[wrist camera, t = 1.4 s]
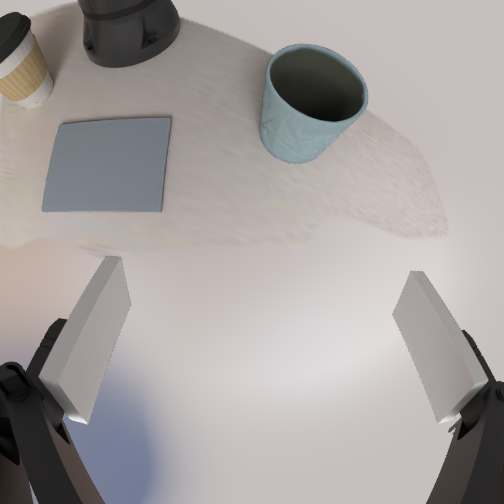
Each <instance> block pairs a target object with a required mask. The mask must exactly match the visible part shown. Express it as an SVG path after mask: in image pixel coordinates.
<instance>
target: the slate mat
mask: <svg viewBox="0 0 504 504" xmlns="http://www.w3.org/2000/svg"><path fill="white" fill-rule="evenodd" d="M171 122H172V119H171V118H134V119H115V120H101V121H89V122H79V123H70V124H61V125H59V128H58V132H57V135H56V139H55V143H54V147H53V152H52V156H51V160H50V165H49V170H48V175H47V180H46V186H45V192H44V198H43V204H42V211H43V212H69V211H116V212H161V211H162V199H163V188H164V178H165V169H166V160H167V152H168V144H169V136H170V129H171Z"/></svg>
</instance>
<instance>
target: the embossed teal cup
mask: <svg viewBox="0 0 504 504" xmlns="http://www.w3.org/2000/svg"><path fill="white" fill-rule="evenodd" d="M367 104H368V90H367V86H366V83H365V81H364V79H363V77H362V75H361V74H360V73H359V71H358V70H357V69H356V67H355V66H354V65H352V64H351V63H350V62H349V61H347V60H346V59H345V58H344V57H342V56H341V55H339V54H338V53H336V52H334V51H332V50H330V49H328V48H325V47H321V46H317V45H311V44H295V45H291V46H287V47H285V48H283V49H281V50H279V51H278V52H277V53H276V54H274V55H273V56H272V58H271V59H270V61H269V62H268V65H267V69H266V78H265V89H264V96H263V104H262V111H261V121H260V137H261V140H262V142H263V145H264V146H265V148H266V149H267V150H268V151H269V152H270V153H271V154H272V155H273V156H274V157H275V158H278V159H280V160H282V161H284V162H287V163H294V164H296V163H298V164H299V163H305V162H309V161H311V160H313V159H315V158H316V157H317V156H318V155H319V154H321V152H322V151H324V150H325V148H326V147H327V146H328V145H329V144H330V143H332V141H333V140H335V139H336V138H337V137H338V136H339V135H340V133H342V132H343V131H344V130H346V129H347V128H348V127H349V126H350V125H351V124H352V123H353V122H354V121H355V120H357V119H358V118H359V117H360V116H361V115H362V114H363V113H364V111H365V109H366V107H367Z"/></svg>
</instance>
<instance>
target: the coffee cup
mask: <svg viewBox="0 0 504 504" xmlns="http://www.w3.org/2000/svg"><path fill="white" fill-rule="evenodd" d="M30 26H31V21H30V19H29V18H28V17H27V16H25V15H21V14H20V13H18V12H12V13H9V14H6V15H4V16H2V17H1V18H0V92H1V93H2V94H3V95H5V96H6V97H7V98H9V99H10V100H12V101H15V102H16V103H17V104H19V105H20V106H21V107H23V108H24V109H27V110H30V109H34V108H36V107H38V106H40V105H41V104H42V103H43V102H44V101H45V100H46V99H47V98H48V97H49V95H50V94H51V92H52V89H53V80H52V78H51V76H50V74H49V71H48V69H47V65H46V63H45V60H44V58H43V56H42V53H41V51H40V48H39V46H38V44H37V41H36V39H35V36H34V35H33V34H32V32H31V29H30Z"/></svg>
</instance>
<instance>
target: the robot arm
mask: <svg viewBox="0 0 504 504" xmlns="http://www.w3.org/2000/svg"><path fill="white" fill-rule="evenodd" d="M78 2H79V4H80V7H81V9H82V12H83V14H84V29H83V44H84V48H85V50H86V53H87V55H88V57H89V58H90V60H91V61H92V62H94V63H95V64H97V65H100V66H103V67H110V68H117V67H126V66H131V65H135V64H138V63H141V62H144V61H146V60H148V59H150V58H152V57H154V56H156V55H158V54H159V53H161V52H162V51H164V50H165V49H166V48H167V47H168V46H169V45H170V44H171V43H172V42H173V41H174V40H175V38H176V36H177V34H178V32H179V15H178V12H177V10H176V8H175V6H174V5H173V3H172V2H171V0H78ZM130 306H131V301H130V297H129V292H128V288H127V283H126V279H125V273H124V268H123V263H122V258H121V257H115V256H106V257H105V258H104V260H103V261H102V263H101V265H100V266H99V268H98V269H97V271H96V273H95V274H94V276H93V277H92V279H91V280H90V282H89V284H88V285H87V287H86V289H85V290H84V292H83V294H82V296H81V297H80V299H79V301H78V302H77V304H76V306H75V307H74V309H73V311H72V313H71V314H70V317H69V318H68V320H67V319H61V318H59V319H58V320H57V321H55V322H54V323H53V324H52V325H51V326H50V327H49V329H48V331H47V332H46V334H45V336H44V339H43V340H42V342H41V343H40V347H38V349H37V351H36V352H35V355H34V356H33V358H32V360H31V362H30V364H29V366H28V368H27V370H26V372H25V370H24V369H23V367H22V366H21V365H20V364H18V363H17V362H7V363H4V364H3V365H1V366H0V504H33V500H32V494H31V489H30V484H31V486H32V489H33V491H34V493H35V496H36V498H37V501H38V503H39V504H105V503H104V501H103V499H102V498H101V496H100V494H99V493H98V491H97V489H96V487H95V485H94V484H93V482H92V480H91V478H90V476H89V474H88V473H87V471H86V469H85V467H84V465H83V463H82V461H81V459H80V457H79V455H78V453H77V450H76V448H75V446H74V444H73V442H72V440H71V438H70V435H69V433H68V430H67V428H66V426H65V423H64V422H63V420H62V418H63V415H64V412H65V413H66V415H67V416H68V417H69V418H70V419H71V420H74V421H78V422H81V423H85V424H88V423H89V420H90V417H91V414H92V410H93V407H94V404H95V401H96V398H97V395H98V392H99V389H100V386H101V383H102V380H103V377H104V374H105V371H106V369H107V366H108V363H109V360H110V358H111V355H112V352H113V349H114V347H115V344H116V341H117V339H118V336H119V334H120V331H121V329H122V326H123V324H124V321H125V319H126V316H127V314H128V311H129V308H130ZM393 317H394V319H395V321H396V323H397V325H398V327H399V330H400V331H401V334H402V336H403V338H404V340H405V343H406V345H407V347H408V350H409V352H410V354H411V356H412V359H413V361H414V363H415V366H416V368H417V371H418V373H419V376H420V378H421V381H422V383H423V385H424V388H425V391H426V393H427V396H428V398H429V401H430V403H431V406H432V409H433V411H434V414H435V417H436V420H437V423H442V422H446V421H450V420H452V419H453V418H454V417H455V416H456V415H457V414H458V413H459V412H460V415H461V418H460V419H459V420H458V421H457V422H456V423H455V424H454V425H453V426H452V427H451V428H450V429H449V431H448V432H451V431H452V430H453V429H454V428H456V429H455V432H454V433H453V434H454V435H453V438H452V441H451V444H450V447H449V450H448V453H447V455H446V458H445V461H444V463H443V466H442V469H441V471H440V473H439V476H438V478H437V481H436V483H435V485H434V488H433V490H432V492H431V494H430V496H429V499H428V500H427V503H426V504H504V382H501V381H498V382H497V381H496V380H495V378H494V376H493V374H492V372H491V370H490V369H489V367H488V365H487V363H486V361H485V359H484V358H483V356H481V353H480V351H479V349H478V348H477V345H476V343H475V342H474V340H473V338H472V337H471V336H470V335H469V334H468V333H467V332H466V331H465V330H461V329H460V327H459V326H458V324H457V322H456V321H455V319H454V318H453V316H452V315H451V313H450V311H449V310H448V308H447V307H446V305H445V303H444V302H443V300H442V299H441V297H440V296H439V294H438V293H437V291H436V290H435V288H434V287H433V285H432V284H431V282H430V281H429V279H428V278H427V276H426V275H425V273H424V272H423V271H410V274H409V276H408V279H407V281H406V284H405V286H404V289H403V291H402V293H401V296H400V298H399V300H398V303H397V305H396V307H395V309H394V312H393ZM29 481H30V484H29Z"/></svg>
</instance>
